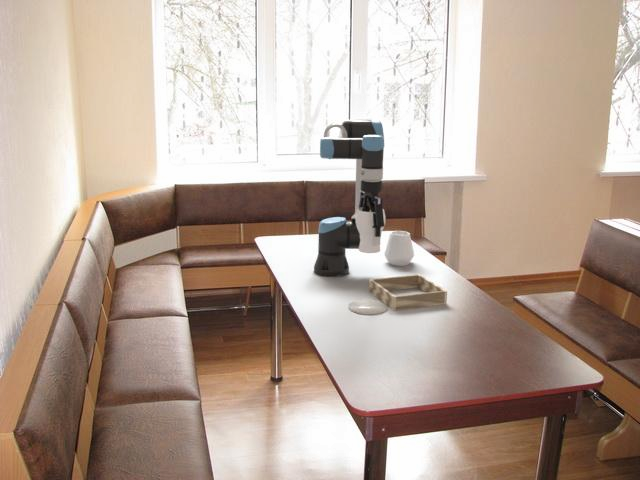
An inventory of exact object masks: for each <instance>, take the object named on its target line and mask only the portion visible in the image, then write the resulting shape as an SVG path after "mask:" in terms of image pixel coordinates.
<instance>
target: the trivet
mask: <svg viewBox="0 0 640 480" xmlns="http://www.w3.org/2000/svg"><path fill="white" fill-rule="evenodd" d="M387 307H388V306H387V305H386V304H385V303H383V302H382V301H378V300H373V299H359V300H355V301H351V302H350V303H348V310H350V311H351V312H352V313H355V314H359V315H363V316H364V315H367V316H368V315H369V316H373V315H379V314H383V313H384V312H386V311H387V309H388V308H387Z"/></svg>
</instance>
